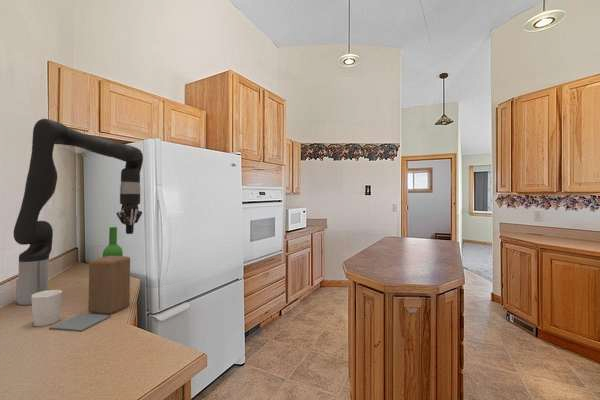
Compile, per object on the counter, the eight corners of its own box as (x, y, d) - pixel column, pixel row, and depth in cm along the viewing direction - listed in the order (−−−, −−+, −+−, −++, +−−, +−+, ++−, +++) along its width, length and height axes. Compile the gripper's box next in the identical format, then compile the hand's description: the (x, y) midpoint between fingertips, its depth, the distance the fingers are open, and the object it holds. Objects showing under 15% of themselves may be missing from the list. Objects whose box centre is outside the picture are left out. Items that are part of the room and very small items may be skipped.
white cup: (66, 319, 102) (67, 291, 102) (40, 328, 94) (41, 298, 95) (51, 316, 104) (52, 288, 105) (25, 325, 97) (25, 295, 97)
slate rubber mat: (48, 329, 94) (48, 327, 94) (80, 314, 106) (81, 313, 106) (82, 331, 93) (82, 329, 93) (110, 316, 105) (110, 315, 105)
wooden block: (109, 315, 106) (110, 261, 106) (86, 313, 108) (87, 259, 108) (130, 306, 116) (131, 256, 116) (109, 303, 118) (110, 255, 118)
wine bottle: (97, 294, 129) (98, 227, 129) (114, 289, 136) (115, 226, 137) (109, 296, 126) (110, 228, 126) (126, 291, 133) (127, 227, 134)
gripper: (132, 193, 129) (132, 232, 129) (110, 192, 116) (109, 235, 116) (148, 193, 129) (147, 232, 128) (127, 192, 115) (126, 235, 115)
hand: (129, 233), depth 122 cm, fingers closed
